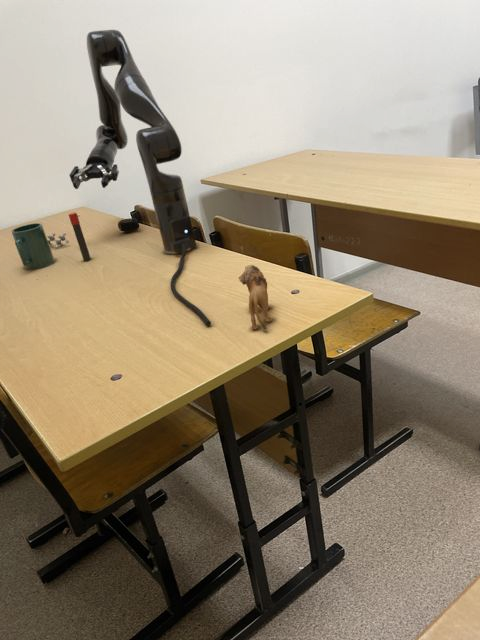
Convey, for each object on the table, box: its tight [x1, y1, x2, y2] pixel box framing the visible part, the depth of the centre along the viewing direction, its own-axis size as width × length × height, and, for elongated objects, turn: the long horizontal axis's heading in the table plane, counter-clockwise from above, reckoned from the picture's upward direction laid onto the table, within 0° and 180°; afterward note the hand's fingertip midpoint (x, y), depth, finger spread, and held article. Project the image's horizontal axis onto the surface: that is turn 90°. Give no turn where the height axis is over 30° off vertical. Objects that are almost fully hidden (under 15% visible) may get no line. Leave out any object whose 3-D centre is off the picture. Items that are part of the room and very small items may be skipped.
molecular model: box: [46, 232, 70, 249], centre depth 176 cm, size 14×4×5 cm, turn 78°
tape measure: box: [117, 217, 140, 234], centre depth 180 cm, size 7×7×4 cm
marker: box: [68, 212, 92, 262], centre depth 155 cm, size 2×2×14 cm
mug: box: [10, 222, 55, 270], centre depth 157 cm, size 12×9×12 cm
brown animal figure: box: [238, 264, 273, 331], centre depth 103 cm, size 15×5×9 cm, turn 10°
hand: (89, 185), depth 160 cm, fingers open, 8 cm apart
